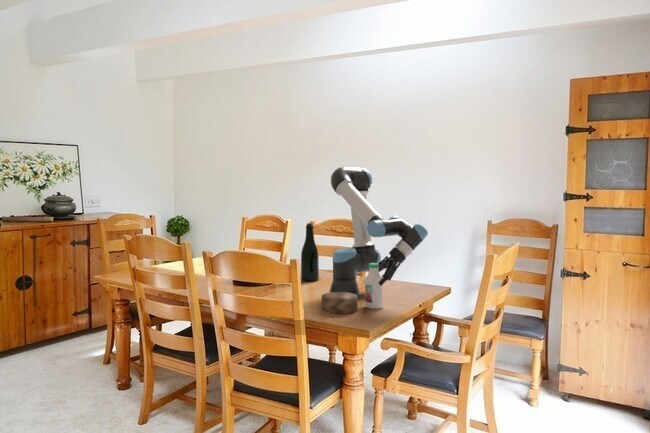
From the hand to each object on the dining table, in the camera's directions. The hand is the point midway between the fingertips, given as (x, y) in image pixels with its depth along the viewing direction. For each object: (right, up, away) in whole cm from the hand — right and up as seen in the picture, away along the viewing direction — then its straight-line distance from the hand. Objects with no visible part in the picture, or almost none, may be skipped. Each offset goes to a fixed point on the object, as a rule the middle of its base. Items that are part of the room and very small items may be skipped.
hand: (368, 286), depth 224 cm
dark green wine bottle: (-29, -5, +62) cm, 69 cm away
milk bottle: (+2, -10, +1) cm, 10 cm away
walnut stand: (-13, -10, -2) cm, 17 cm away
